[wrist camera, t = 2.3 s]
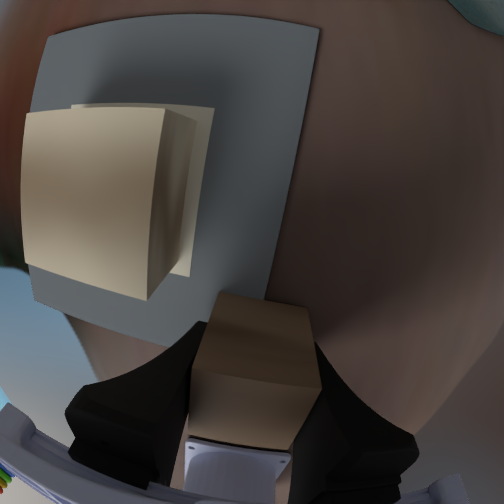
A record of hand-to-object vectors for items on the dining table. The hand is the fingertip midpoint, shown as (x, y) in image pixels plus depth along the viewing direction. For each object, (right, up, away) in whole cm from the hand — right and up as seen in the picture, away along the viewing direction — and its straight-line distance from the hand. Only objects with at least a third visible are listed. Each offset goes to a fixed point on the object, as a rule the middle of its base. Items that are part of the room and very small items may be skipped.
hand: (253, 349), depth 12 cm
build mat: (-6, +7, -1) cm, 9 cm away
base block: (-6, +7, -1) cm, 9 cm away
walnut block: (0, 0, +1) cm, 1 cm away
